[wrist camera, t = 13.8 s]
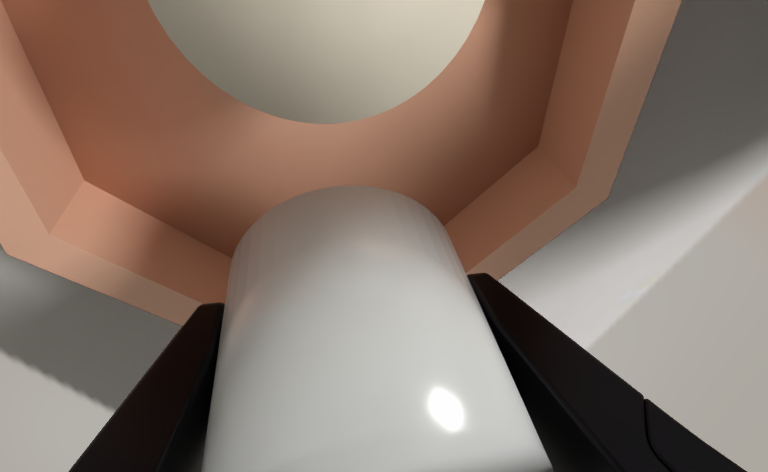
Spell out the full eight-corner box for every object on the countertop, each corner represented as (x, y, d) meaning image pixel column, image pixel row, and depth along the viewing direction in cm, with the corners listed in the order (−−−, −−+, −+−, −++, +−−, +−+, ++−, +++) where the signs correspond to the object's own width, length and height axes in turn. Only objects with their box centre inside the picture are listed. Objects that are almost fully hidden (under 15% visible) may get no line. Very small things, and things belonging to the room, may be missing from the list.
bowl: (692, -379, 8) (863, -484, 6) (527, 247, 17) (566, 308, 14) (-267, -469, 6) (-616, -685, 4) (115, 290, 15) (84, 369, 12)
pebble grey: (466, 175, 8) (599, 399, 5) (444, 338, 11) (517, 554, 7) (203, 197, 7) (134, 472, 4) (251, 362, 10) (233, 611, 7)
